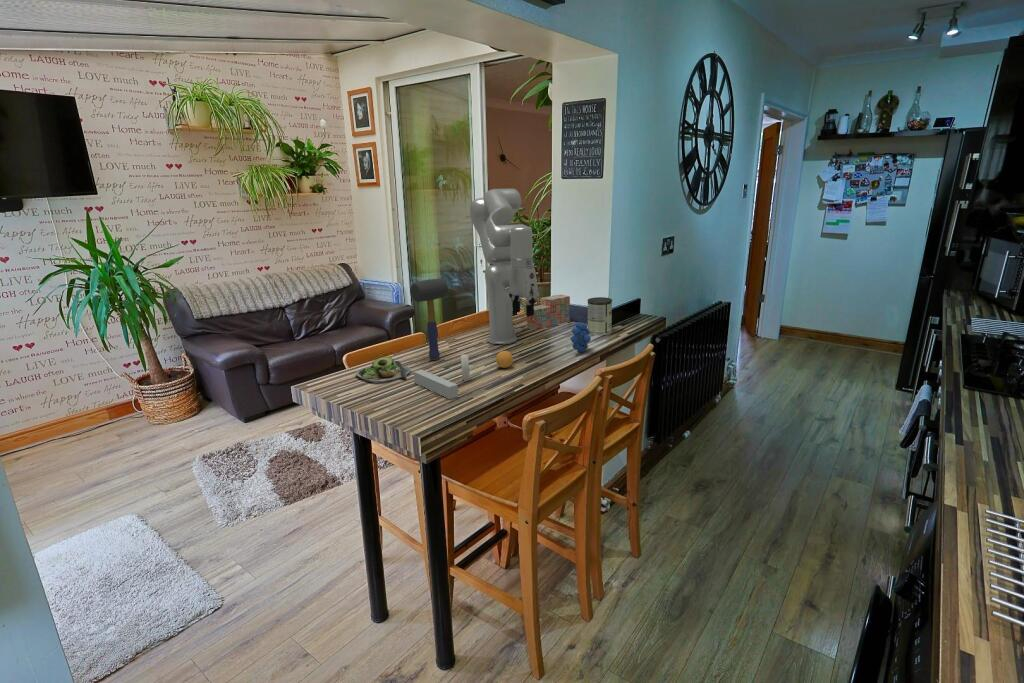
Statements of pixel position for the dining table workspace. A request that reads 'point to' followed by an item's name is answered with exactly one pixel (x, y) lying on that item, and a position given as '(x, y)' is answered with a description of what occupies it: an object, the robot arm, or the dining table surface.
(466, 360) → the pin
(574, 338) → the grapes
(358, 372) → the salad plate
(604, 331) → the coffee can
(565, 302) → the stack of blocks
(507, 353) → the ball
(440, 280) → the rubber mallet
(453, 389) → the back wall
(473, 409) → the dining table surface
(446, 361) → the dining table surface
